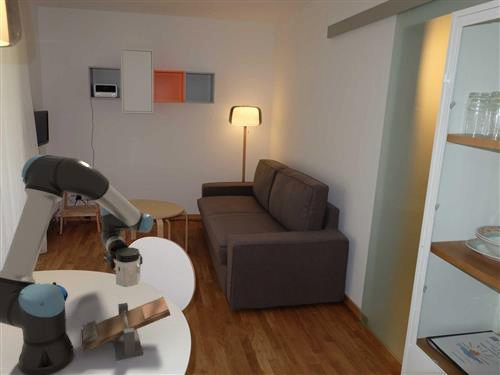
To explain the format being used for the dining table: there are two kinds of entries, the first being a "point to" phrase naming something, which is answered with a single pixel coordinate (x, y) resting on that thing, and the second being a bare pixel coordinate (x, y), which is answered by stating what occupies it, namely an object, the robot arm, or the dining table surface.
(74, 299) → the dining table surface
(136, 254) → the jar
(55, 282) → the ornament
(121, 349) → the pivot stand
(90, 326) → the beam
